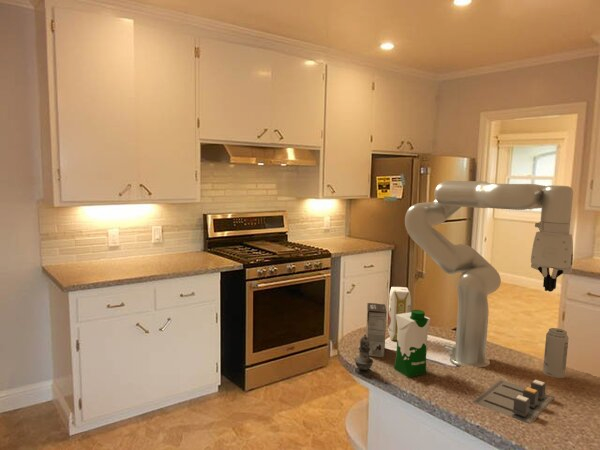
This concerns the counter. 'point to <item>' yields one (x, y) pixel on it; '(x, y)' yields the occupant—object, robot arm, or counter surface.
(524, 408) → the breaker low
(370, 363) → the grey ornate incense burner
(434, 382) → the counter surface
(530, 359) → the counter surface
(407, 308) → the juice carton
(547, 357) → the energy drink can
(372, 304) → the coffee box
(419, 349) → the milk carton
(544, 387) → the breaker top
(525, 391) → the block
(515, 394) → the panel
